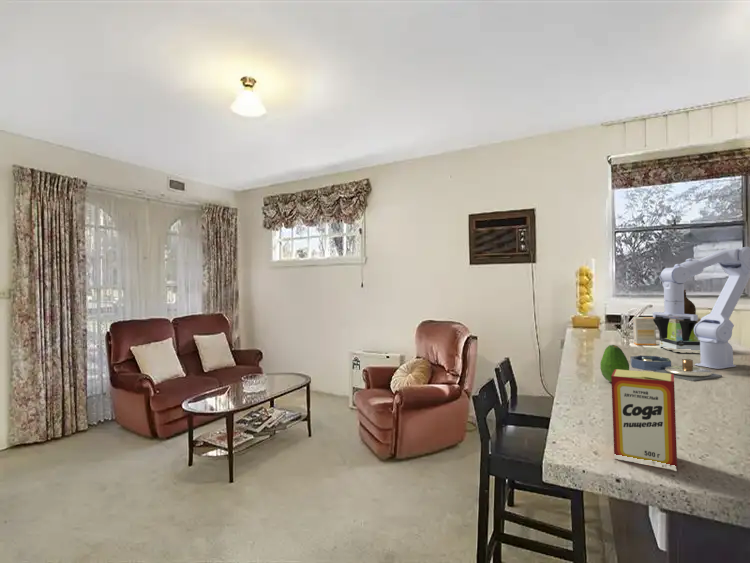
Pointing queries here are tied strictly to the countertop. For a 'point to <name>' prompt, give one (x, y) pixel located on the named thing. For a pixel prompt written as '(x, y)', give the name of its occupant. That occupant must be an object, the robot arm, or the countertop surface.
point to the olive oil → (688, 306)
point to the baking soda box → (644, 415)
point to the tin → (650, 362)
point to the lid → (688, 369)
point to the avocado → (613, 361)
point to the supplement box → (644, 331)
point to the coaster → (691, 378)
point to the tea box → (679, 337)
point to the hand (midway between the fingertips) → (674, 339)
